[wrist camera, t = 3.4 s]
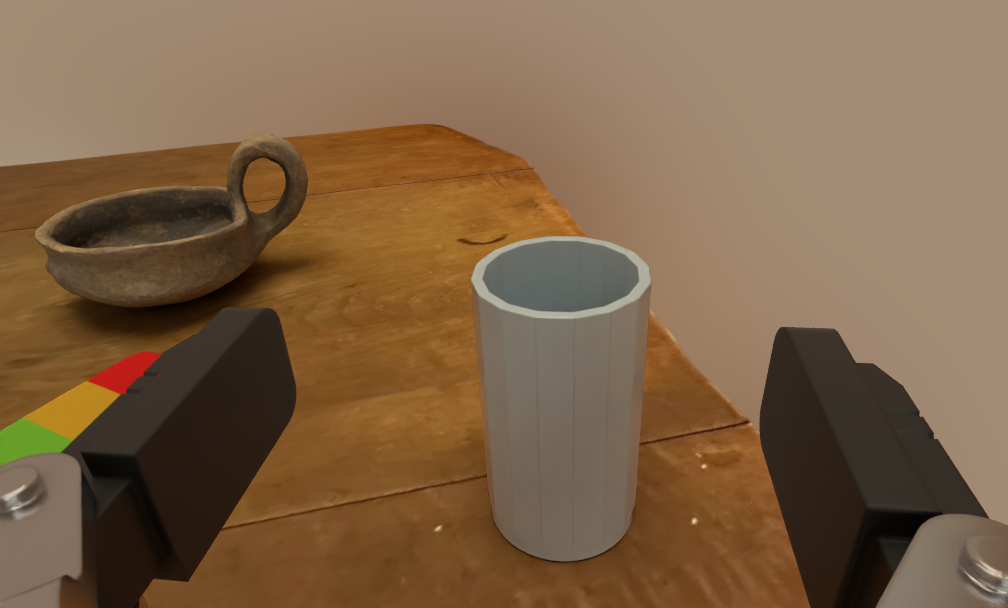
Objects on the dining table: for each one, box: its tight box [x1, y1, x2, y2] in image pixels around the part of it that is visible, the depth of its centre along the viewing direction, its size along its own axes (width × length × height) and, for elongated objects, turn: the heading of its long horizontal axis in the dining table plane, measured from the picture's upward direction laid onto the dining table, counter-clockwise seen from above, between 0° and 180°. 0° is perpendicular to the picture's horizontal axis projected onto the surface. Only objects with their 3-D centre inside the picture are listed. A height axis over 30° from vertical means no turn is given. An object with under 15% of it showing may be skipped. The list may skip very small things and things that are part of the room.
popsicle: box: [0, 352, 161, 466], centre depth 30 cm, size 6×15×2 cm, turn 152°
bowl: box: [35, 134, 308, 307], centre depth 45 cm, size 14×18×10 cm
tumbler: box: [471, 236, 651, 561], centre depth 25 cm, size 6×6×11 cm
